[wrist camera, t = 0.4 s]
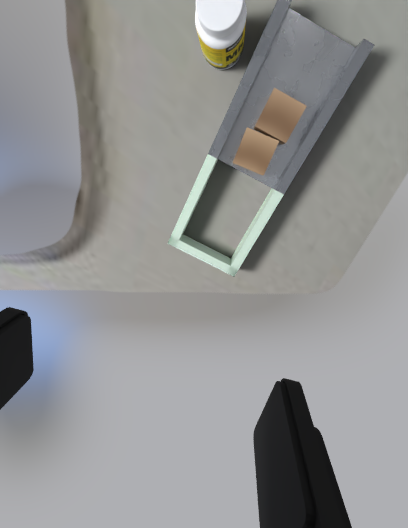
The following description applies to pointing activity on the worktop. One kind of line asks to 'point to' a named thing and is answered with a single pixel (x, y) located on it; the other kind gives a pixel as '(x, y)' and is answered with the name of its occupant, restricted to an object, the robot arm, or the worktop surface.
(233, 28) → the supplement bottle
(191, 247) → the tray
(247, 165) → the chip
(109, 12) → the worktop surface
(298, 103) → the brown block
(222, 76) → the worktop surface
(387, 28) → the worktop surface
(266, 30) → the channel
